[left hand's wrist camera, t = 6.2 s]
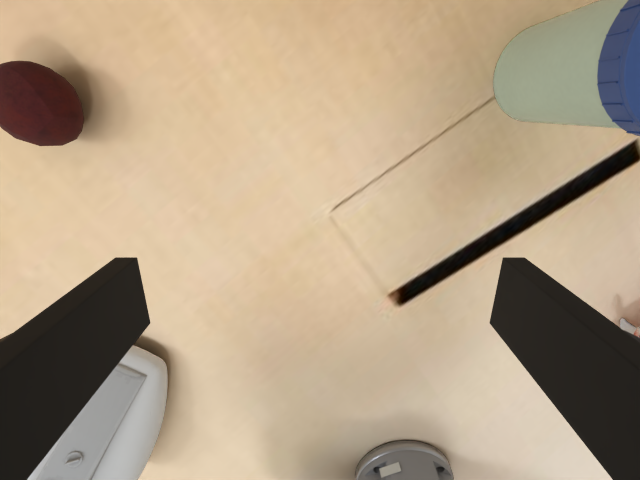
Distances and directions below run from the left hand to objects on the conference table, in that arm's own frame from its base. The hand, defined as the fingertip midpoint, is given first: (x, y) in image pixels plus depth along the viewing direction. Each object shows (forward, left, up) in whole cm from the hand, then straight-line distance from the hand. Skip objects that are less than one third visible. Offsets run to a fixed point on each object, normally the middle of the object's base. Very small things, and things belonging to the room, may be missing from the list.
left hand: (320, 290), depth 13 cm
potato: (+6, +27, -28) cm, 39 cm away
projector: (-33, +30, -28) cm, 53 cm away
